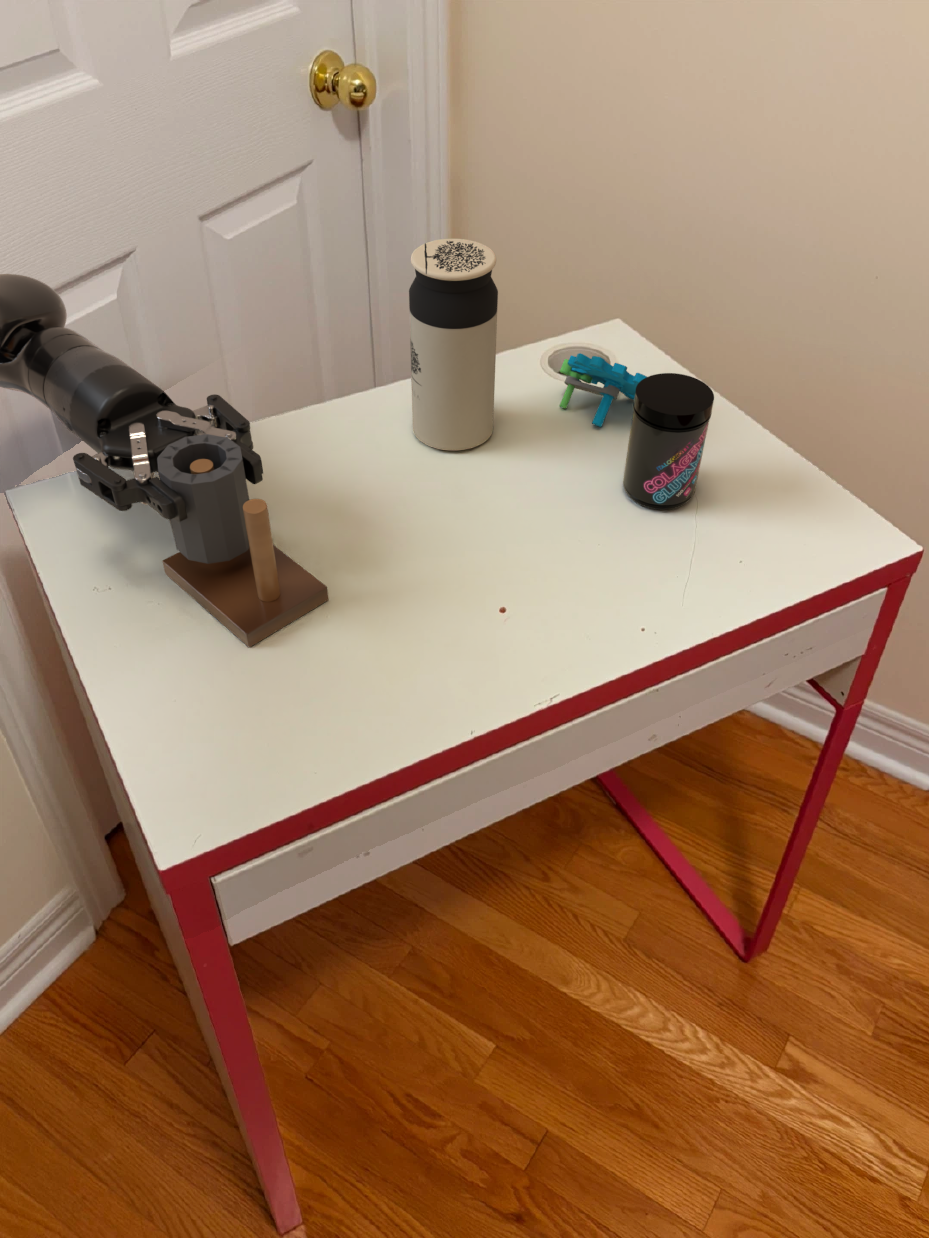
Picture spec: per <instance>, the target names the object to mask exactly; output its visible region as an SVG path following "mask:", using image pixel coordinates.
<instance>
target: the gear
mask: <svg viewBox="0 0 929 1238" xmlns="http://www.w3.org/2000/svg"><path fill="white" fill-rule="evenodd" d="M627 370H628V367H627V366H626V365H624V364H621V363H618V362H614V364H613V365H612V364H610V363H609V362H608V361H607V360H605V358H604V357H601V356H596V355H592V356H591V358H590V357H589V356H588V355H585V354H583V353H581V352H579V353H577V354H576V356H575V355H570V356H569V359H568V358H564V360H563V362H562V365H561V367H560V369H559V373H561V374H563V375H566V377H565V379H564V382H563V383H564V384H565V385H566V386H567V387H566V389H565V392H564V394H563V396H562V399H561V401H560V404H559V407H560V408H562V409H565V410H566V409H567V407H568V405H569V402H570V401H571V398H572V395H573V393H574V392H575V391H574V390H580V391H583V392H587V393H590V394H593V395H598V396H601V397H602V398H601V399H600V402H599V405H598V407H597V409H596V412H595V414H594V417H593V419H592V422H591V424H592V425H593V426H596V427H599V428H601V427H603V424H604V422H605V419H606V417H607V415H608V412H609V410H610V407H611V405H612V403H613V400H617V398H618V396H619V394H620V393H621V394H622V395H624V396H625V397H626V398H628V399H630V400H633V401H634V398H635V391H636V387H637V385H638V383H639V382H640V381H641V380H643V379H644V378H646V377H648V376H647V375H646V374H645V375H644V374H643V373H640V372H635V375H633V374H631V373H630V372H629V371H627ZM598 383H600V384H601V385H603V387H601V386H597V385H598Z"/></svg>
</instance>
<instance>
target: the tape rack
mask: <svg viewBox="0 0 929 1238" xmlns="http://www.w3.org/2000/svg"><path fill="white" fill-rule="evenodd" d="M213 470H214V465H213V462H212V461H210V460H208V459H198V460H195V461H194V462H192V463H191V465H190V471H191V474H194V475H195V474H202V473H209V472H211V471H213ZM243 513H244V518H245V524H246V530H247V536H248V542H249V548H248V550H247V551H246V552H244V553H242V554H241V555H239V556H237V557H235V558H233V559H231V560H230V561H224V562H217V563H210V564H207V563H202V562H197V561H192V560H188V559H187V558H186V557H185V556H184V555H183V554H182V553H180V552H179V551H178V552H175V553H174V554H172V555H170V556H168V557H167V558H165V559H163V560H162V561H161V562H162V566H163V571H164V575H166V576H167V577H168V578H170V579H171V580H172V581H173V582H174V583H175V584H176V585H177V586H179V588H181V589H182V590H183V591H184V592H185V593H186V594H187V595H189V596H190V597H191V598H192V599H193V600H194V601H195V602H197V603H198V604H199V605H200V606H201V607H202V608H204V609H205V610H206V611H207V612H208V613H209V614H210V615H212V617H214V618H215V619H216V620H217V621H218V622H220V623H221V624H222V625H223V626H224V627H225V628H226V629H227V630H229V632H230V633H232V634H233V635H234V636H235V637H237V638H238V639H239V640H240V641H241V642H242V643H243V644H244V645H246V646H247V647H248V648H251V647H253V646H255V645H256V644H258V643H259V642H262V640H265V639H266V638H268V637H269V636H271V635H273V634H274V633H276V632H278V631H279V630H281V629H283V628H284V627H286V626H288V625H289V624H291V623H292V622H293V623H294V621H296V620H298V619H299V618H301V617H303V616H305V615H306V614H308V613H309V612H311V611H313V610H315V609H316V608H318V607H320V606H321V605H323V604H325V603H326V602H328V601H329V589H328V586H327V585H326V584H324V583H323V582H322V581H321V580H319V579H318V578H316V577H315V576H314V575H313V574H312V573H310V572H309V571H307V570H306V569H305V568H304V567H302V566H301V565H300V564H298V563H297V562H296V561H294V559H292V558H291V557H290V556H288V555H287V554H286V553H284V552H283V551H282V550H281V549H279V548H278V547H277V546H275V545H274V541H273V535H272V527H271V522H270V515H269V508H268V503H267V502H266V500H264V499H262V498H252V499H249V500H248V501H247V502H245V503H244V505H243Z"/></svg>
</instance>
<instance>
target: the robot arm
mask: <svg viewBox="0 0 929 1238" xmlns="http://www.w3.org/2000/svg"><path fill="white" fill-rule="evenodd" d="M67 316H68V315H67V307H66V305H65V303H64V301H63V299H62V297H61V296H60V295H59V293H58V292H57V291H56V290H55V289H53V287H51V286H50V285H48V284H46V282H43V281H41V280H39V279H37V278H34V277H32V276H31V277H30V276H27V275H24V274H13V273H0V388H2V389H6V390H10V391H14V392H20V393H22V394H23V393H24V394H26V395H29V396H31V397H33V398H34V399H36V400H37V401H38V402H40V403H41V404H42V405H43V406H45V407H46V409H48V410H50V411H51V412H52V413H53V414H55V416H56V417H57V419H58V420H59V421H60V422H61V423H62V425H64V427H66V429H67V430H69V432H71V433H72V434H74V435H75V436H76V437H77V438H79V439H80V440H81V441H83V443H84V444H86V445H87V446H89V447H90V448H91V450H94V452H96V453H95V454H94V455H92V456H91V455H90V454H88V453H86V452H79V453H76V454H74V455H73V457H72V460H73V463H74V466H75V470H76V474H77V477H78V480H79V484H80V485H81V486H82V487H84V489H86V490H88V491H90V492H91V493H92V494H94V495H95V496H97V497H98V498H100V499H101V500H103V501H104V502H105V503H107V504H108V505H111V506H112V507H113V508H114V509H116V510H117V511H119V512H127V511H129V510H131V509H132V507H133V504H136V503H141V504H142V505H144V506H149V507H150V508H151V509H152V510H154V512H156V513H158V515H160V516H161V517H162V518H164V519H166V520H168V521H170V520H171V519H175V520H176V521H177V522H181V521H183V520H185V519H187V512H186V507H185V503H184V500H183V498H182V497H181V496H180V495H179V494H178V493H177V492H175V491H174V490H172V489H171V488H170V487H169V486H167V485H166V484H165V483H164V482H162V481H161V480H160V477H159V476H155V473H158V462H157V458H158V456H159V455H160V454H161V453H162V452H163V450H164V449H165V448H166V447H167V446H168V445H169V444H172V443H174V442H176V441H178V440H180V439H182V438H185V437H188V436H196V435H204V434H210V435H215V436H221V437H226V438H229V439H230V440H232V441H233V442H234V443H236V444H237V445H238V446H240V447H241V453H242V459H243V465H244V471H245V477H246V481H248V482H250V483H251V485H254V486H255V485H257V484H259V483H261V482H263V479H264V478H263V474H264V469H263V462H262V458H261V454H258V453H257V452H255V451H254V450H253V449H254V442H253V438H252V433H251V422H250V421H249V419H247V418H246V417H245V416H243V414H241V413H240V412H239V411H238V410H237V409H236V408H235V407H233V406H232V405H231V404H230V403H229V402H228V401H226V400H225V398H223V397H222V396H221V395H220V394H210V395H208V396H206V404H207V405H203V406H202V407H199V408H197V409H194V410H192V409H191V408H189V407H186V406H180V405H178V404H176V403H175V402H174V401H173V400H172V398H171V397H170V396H169V395H168V394H167V393H166V392H165V391H164V390H163V389H162V388H161V387H159V386H158V385H157V384H155V383H153V381H151V380H150V379H148V378H147V377H145V376H144V375H142V374H141V373H140V372H138V371H137V370H136V369H134V368H133V367H131V366H130V365H129V364H127V363H126V362H125V361H123V359H122V360H121V359H120V358H119V357H117V356H115V355H113V354H111V353H109V352H106V351H104V350H103V349H102V348H100V347H99V346H98V345H96V344H95V343H93V342H92V341H91V340H89V339H88V338H86V337H85V336H84V335H83V334H81V333H80V332H78V331H75V330H73V329H71V328H68V327H66V322H67V318H68V317H67ZM113 469H114V470H123V471H130V472H133V475H134V478H131V479H126V478H125V477H124V476H122V475H121V474H119V473H118V472H116V471H114V470H113Z"/></svg>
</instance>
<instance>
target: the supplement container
mask: <svg viewBox="0 0 929 1238" xmlns="http://www.w3.org/2000/svg"><path fill="white" fill-rule="evenodd" d="M714 401H715V394H714V392H713V389H711V387H710V386H709V385H708V384H707V383H705V382H704V381H702V380H700V379H699V378H696V377H694V376H691V375H687V374H682V373H674V372H663V373H656V374H651V375H649V376H647V377H646V378H644V379H643V380H641V381H640V382H639V383H638V385H637V387H636V391H635V398H634V400H633V403H632V414H631V422H630V429H629V435H628V443H627V450H626V457H625V463H624V472H623V478H622V485H623V486H622V487H623V489H624V491H625V494H626V495H627V496H628V498H630V499H631V500H632V501H633V502H634V503H635V504H637V505H639V506H641V507H644V508H647V509H650V510H655V511H669V510H675V509H678V508H681V507H683V506H684V505H686V504H687V503H689V502H690V500H691V499H692V498H693V496H694V495H695V493H696V489H697V484H698V478H699V474H700V470H701V463H702V459H703V454H704V449H705V443H706V439H707V434H708V430H709V424H710V420H711V417H712V413H713V406H714Z"/></svg>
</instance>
